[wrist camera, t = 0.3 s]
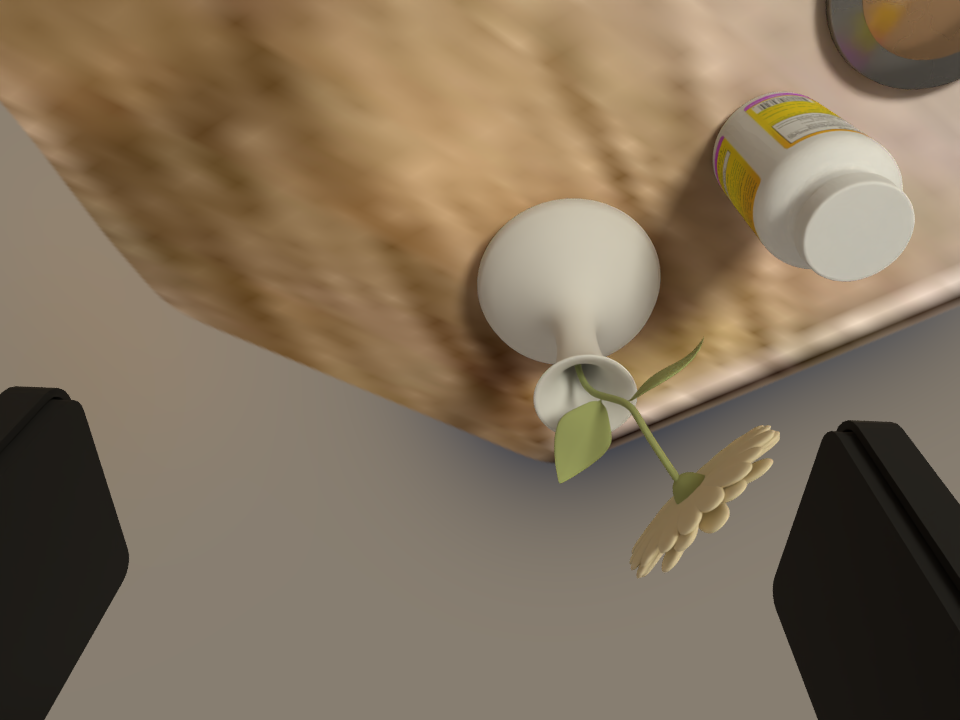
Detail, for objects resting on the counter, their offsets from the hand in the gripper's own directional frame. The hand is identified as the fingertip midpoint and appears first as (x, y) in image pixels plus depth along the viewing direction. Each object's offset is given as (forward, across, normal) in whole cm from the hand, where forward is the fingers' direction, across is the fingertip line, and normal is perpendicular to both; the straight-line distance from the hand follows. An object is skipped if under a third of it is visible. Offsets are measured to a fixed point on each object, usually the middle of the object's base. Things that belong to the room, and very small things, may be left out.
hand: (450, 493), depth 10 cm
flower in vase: (+36, -6, +13) cm, 39 cm away
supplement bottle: (+36, -16, +5) cm, 40 cm away
